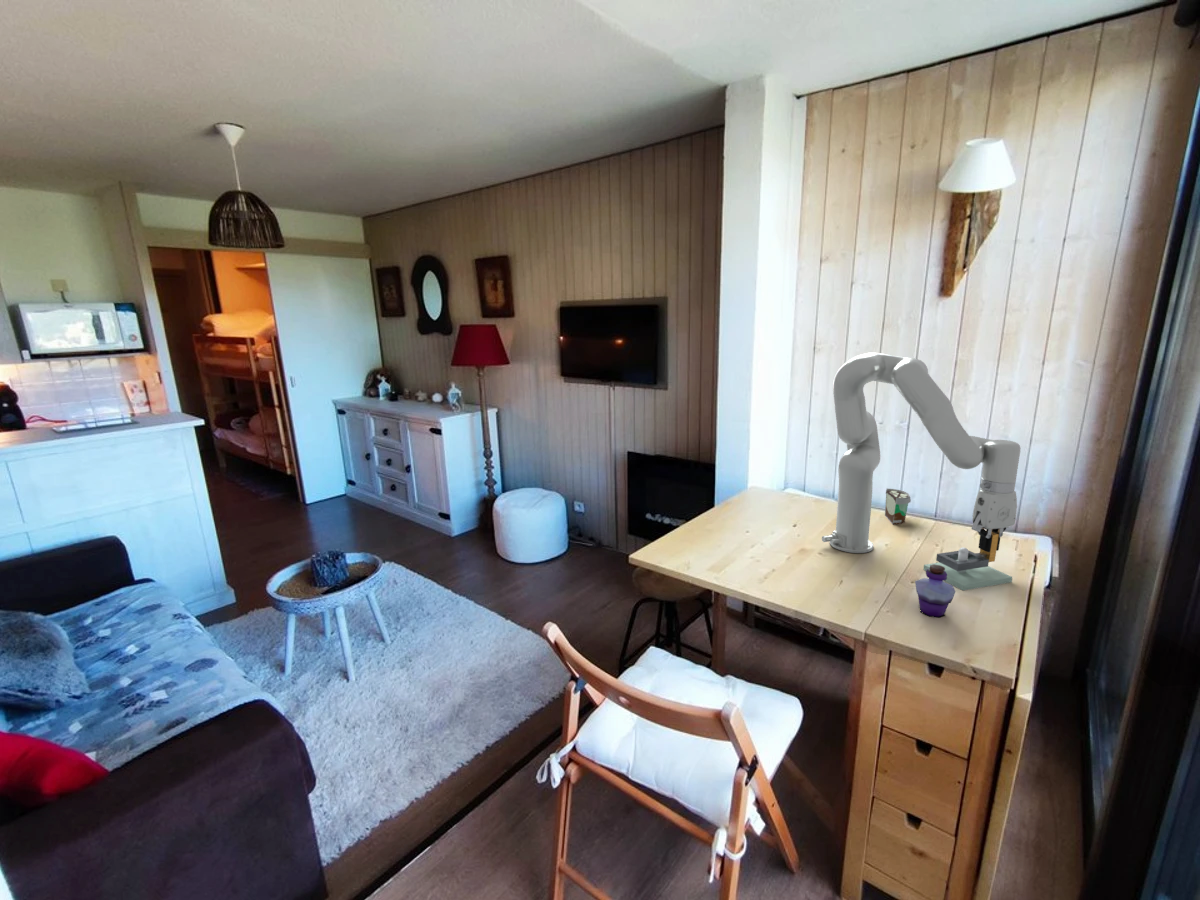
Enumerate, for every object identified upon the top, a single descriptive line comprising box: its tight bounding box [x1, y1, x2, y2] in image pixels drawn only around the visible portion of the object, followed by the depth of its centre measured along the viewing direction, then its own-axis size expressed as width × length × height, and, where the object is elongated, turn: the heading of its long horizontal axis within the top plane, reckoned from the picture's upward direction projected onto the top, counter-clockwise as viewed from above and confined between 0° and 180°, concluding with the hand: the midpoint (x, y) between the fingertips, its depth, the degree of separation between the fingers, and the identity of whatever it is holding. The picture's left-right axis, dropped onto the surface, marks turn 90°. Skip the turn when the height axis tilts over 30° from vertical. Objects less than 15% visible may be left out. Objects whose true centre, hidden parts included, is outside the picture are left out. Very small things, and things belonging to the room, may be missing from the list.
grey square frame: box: [935, 532, 999, 571], centre depth 150 cm, size 14×7×8 cm, turn 104°
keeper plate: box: [923, 547, 1013, 591], centre depth 151 cm, size 16×13×9 cm
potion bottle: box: [914, 564, 956, 619], centre depth 133 cm, size 9×9×12 cm
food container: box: [884, 488, 912, 526], centre depth 193 cm, size 12×6×10 cm, turn 168°
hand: (988, 549), depth 152 cm, fingers closed on grey square frame
